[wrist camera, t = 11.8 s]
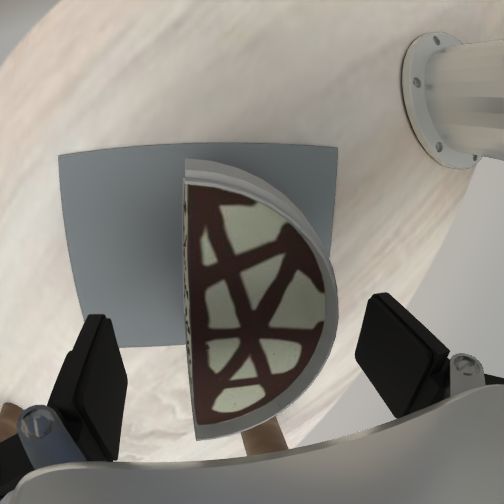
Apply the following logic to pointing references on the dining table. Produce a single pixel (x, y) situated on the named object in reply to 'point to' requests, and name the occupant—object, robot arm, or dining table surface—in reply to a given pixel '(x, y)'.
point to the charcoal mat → (165, 223)
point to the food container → (250, 299)
